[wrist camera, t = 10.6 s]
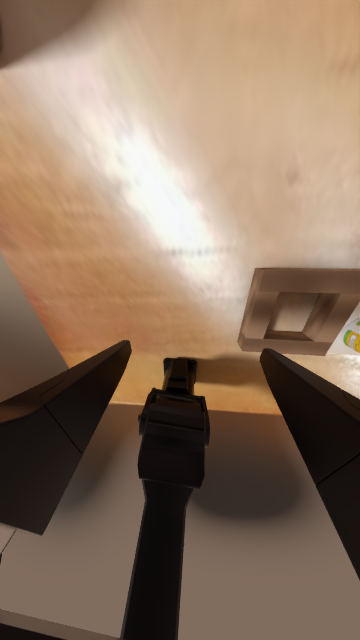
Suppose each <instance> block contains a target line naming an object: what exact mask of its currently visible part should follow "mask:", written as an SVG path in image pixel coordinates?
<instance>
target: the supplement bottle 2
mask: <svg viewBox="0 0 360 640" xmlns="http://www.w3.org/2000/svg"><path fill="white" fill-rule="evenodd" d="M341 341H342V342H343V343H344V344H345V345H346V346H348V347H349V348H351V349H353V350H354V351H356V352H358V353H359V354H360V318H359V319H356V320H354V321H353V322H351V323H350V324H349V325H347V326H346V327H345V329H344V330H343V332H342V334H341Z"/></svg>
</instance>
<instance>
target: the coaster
mask: <svg viewBox="0 0 360 640" xmlns="http://www.w3.org/2000/svg"><path fill="white" fill-rule="evenodd" d="M359 318H360V302H359V304H358V305H357V307H356V308H355V310H354V311H353V313H352V314H351V316H350V317H349V319H348V321H347V322H346V324H345V325H344V327H343V328H342V330H341V331H340V333H339V334H338V336H337V338H336V339H335V341H334V342H333V344H332V345H331V347H330V348H329V350H328V351H327V353H326V354H343V355H360V354H359V353H358V352H356V351H354V350H353V349H351V348H349V347H348V346H346V345H345V344H344V343H343V342H342V341H341V334H342V332H343V330H344V329H345V327H346V326H347V325H349V324H350V323H351V322H353V321H354V320H356V319H359Z"/></svg>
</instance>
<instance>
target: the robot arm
mask: <svg viewBox="0 0 360 640" xmlns="http://www.w3.org/2000/svg"><path fill="white" fill-rule="evenodd" d="M131 352H132V349H131V345H130V341H129V340H123V341H121V342H119V343H117V344H115V345H113V346H111V347H109V348H108V349H106V350H104V351H102V352H100V353H98V354H96V355H94V356H93V357H91V358H89V359H87V360H85V361H83V362H81V363H79V364H77V365H76V366H74V367H72V368H70V369H68V370H66V371H64V372H62V373H60V374H59V375H57V376H55V377H53V378H51V379H49V380H47V381H45V382H43V383H40V384H38V385H37V386H34V387H32V388H30V389H28V390H26V391H24V392H22V393H19V394H17V395H15V396H13V397H11V398H9V399H7V400H5V401H2V402H1V403H0V562H1V557H2V552H3V550H4V549H5V547H6V546H7V544H8V542H9V541H10V539H11V538H12V536H13V535H14V533H15V531H19V532H24V533H29V534H34V535H40V536H42V535H43V533H44V531H45V529H46V528H47V526H48V524H49V522H50V520H51V518H52V516H53V514H54V511H55V510H56V508H57V506H58V504H59V501H60V500H61V497H62V496H63V494H64V492H65V490H66V488H67V486H68V484H69V482H70V480H71V478H72V476H73V474H74V472H75V470H76V468H77V466H78V464H79V461H80V460H81V458H82V456H83V453H84V451H85V449H86V447H87V445H88V443H89V441H90V439H91V437H92V435H93V433H94V431H95V429H96V427H97V425H98V423H99V421H100V420H101V418H102V415H103V413H104V411H105V410H106V408H107V406H108V404H109V402H110V400H111V398H112V396H113V394H114V392H115V390H116V388H117V386H118V384H119V382H120V380H121V378H122V375H123V373H124V371H125V369H126V366H127V363H128V360H129V358H130V355H131ZM163 363H164V376H165V377H164V382H163V386H162V390H160V389H156V388H152V391H151V392H150V393H149V394H148V397H147V400H146V403H145V405H144V407H143V409H142V410H141V412H140V414H139V416H138V422H139V424H140V425H139V436H143V437H142V442H141V446H140V451H139V456H138V473H139V478H140V479H142V484H143V490H144V495H145V505H144V510H143V516H142V521H141V526H140V532H139V538H138V543H137V548H136V554H135V559H134V565H133V571H132V576H131V582H130V587H129V592H128V598H127V603H126V608H125V614H124V619H123V625H122V630H121V636H120V638H116V637H112V636H108V635H104V634H99V633H96V632H91V631H87V630H83V629H79V628H75V627H71V626H67V625H63V624H59V623H54V622H50V621H46V620H42V619H38V618H34V617H30V616H25V615H22V614H18V613H14V612H9V611H5V610H1V609H0V640H178V626H179V610H180V595H181V579H182V564H183V547H184V532H185V516H186V507H187V505H188V503H189V501H190V499H191V497H192V494H193V492H194V490H195V489H200V487H201V484H202V481H203V479H204V458H205V447H206V448H207V447H208V444H209V436H210V424H209V416H208V411H207V406H206V401H205V397H204V396H196V395H194V384H195V380H196V367H197V362H196V361H195V360H182V359H167V358H166V359H164V361H163ZM260 363H261V365H262V368H263V371H264V374H265V377H266V380H267V383H268V385H269V387H270V389H271V391H272V394H273V396H274V398H275V400H276V402H277V404H278V406H279V409H280V411H281V413H282V415H283V417H284V419H285V421H286V424H287V426H288V428H289V430H290V432H291V434H292V436H293V438H294V441H295V442H296V445H297V447H298V449H299V451H300V453H301V456H302V458H303V460H304V462H305V464H306V466H307V468H308V471H309V473H310V475H311V477H312V479H313V481H314V483H315V484H316V488H317V490H318V492H319V494H320V496H321V499H322V501H323V503H324V505H325V507H326V509H327V511H328V514H329V516H330V518H331V520H332V522H333V524H334V526H335V528H336V530H337V533H338V535H339V537H340V539H341V541H342V543H343V546H344V548H345V550H346V552H347V554H348V556H349V558H350V560H351V562H352V565H353V567H354V569H355V571H356V573H357V575H358V578H359V580H360V399H358V398H356V397H355V396H353V395H351V394H349V393H348V392H346V391H344V390H341V388H339V387H337V386H335V385H334V384H332V383H330V382H328V381H327V380H325V379H323V378H322V377H320V376H318V375H316V374H315V373H313V372H311V371H309V370H308V369H306V368H304V367H303V366H301V365H299V364H297V363H296V362H294V361H292V360H290V359H289V358H287V357H285V356H283V355H282V354H280V353H278V352H277V351H275V350H273V349H271V348H264V349H263V350H262V353H261V356H260Z"/></svg>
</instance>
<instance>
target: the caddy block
mask: <svg viewBox="0 0 360 640" xmlns="http://www.w3.org/2000/svg"><path fill="white" fill-rule="evenodd" d="M279 292H294V293H321V294H320V296H319V298H318V300H317V302H316V304H315V306H314V308H313V310H312V312H311V314H310V316H309V318H308V320H307V322H306V324H305V327H304V329H303V331H302V332H286V331H266V329H267V326H268V324H269V321H270V318H271V315H272V312H273V309H274V306H275V303H276V300H277V298H278V295H279ZM359 302H360V270H358V269H291V268H255V271H254V275H253V279H252V283H251V288H250V292H249V296H248V300H247V304H246V308H245V312H244V317H243V321H242V325H241V329H240V333H239V337H238V341H237V342H238V344H239V346H240V348H241V350H242V351H247V352H262V350H263V349H264V348H271V349H273V350H275V351H277V352H278V353H281V354H298V355H316V356H325V355H326V353H327V351H328V350H329V348H330V347H331V345H332V344H333V342H334V341H335V339H336V338H337V336H338V334H339V333H340V331H341V330H342V328H343V327H344V325H345V324H346V322H347V321H348V319H349V317H350V316H351V314H352V313H353V311H354V310H355V308H356V307H357V305H358V304H359Z"/></svg>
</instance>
